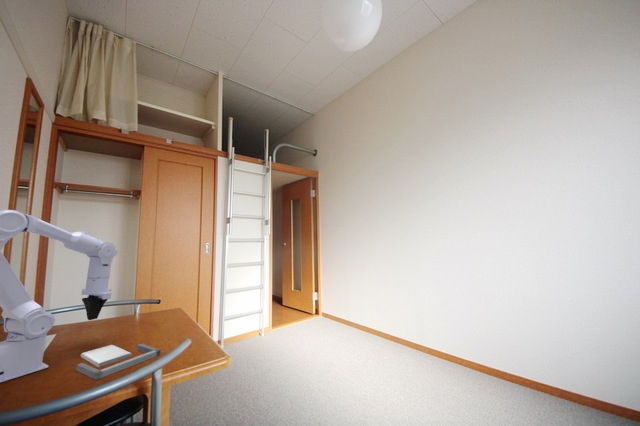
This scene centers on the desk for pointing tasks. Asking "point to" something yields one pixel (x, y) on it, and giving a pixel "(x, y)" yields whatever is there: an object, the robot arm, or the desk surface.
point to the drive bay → (98, 374)
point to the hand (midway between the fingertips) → (92, 319)
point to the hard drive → (105, 355)
